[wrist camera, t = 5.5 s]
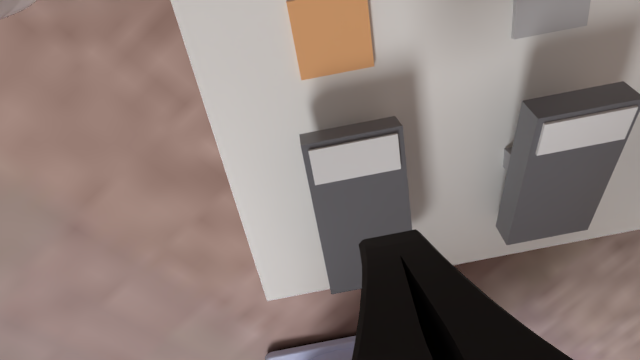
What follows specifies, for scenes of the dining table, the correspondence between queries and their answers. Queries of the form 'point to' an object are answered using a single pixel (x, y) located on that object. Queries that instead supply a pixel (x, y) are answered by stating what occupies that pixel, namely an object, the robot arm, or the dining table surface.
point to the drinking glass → (13, 7)
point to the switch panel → (400, 108)
